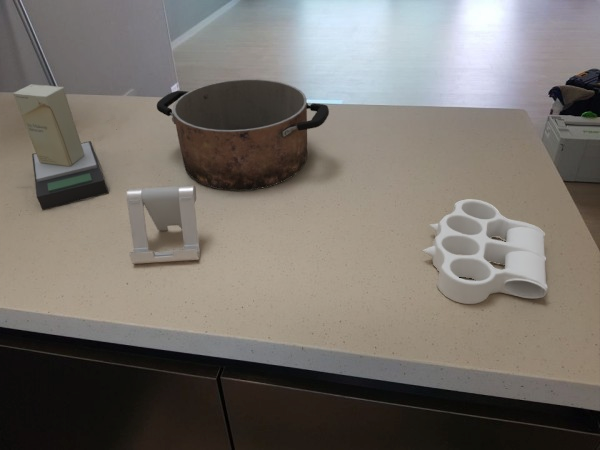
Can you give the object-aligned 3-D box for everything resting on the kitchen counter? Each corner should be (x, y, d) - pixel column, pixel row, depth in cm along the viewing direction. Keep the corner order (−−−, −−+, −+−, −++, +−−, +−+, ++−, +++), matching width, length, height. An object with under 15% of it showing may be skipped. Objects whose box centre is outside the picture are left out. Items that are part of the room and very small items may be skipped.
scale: (37, 166, 83) (30, 150, 81) (94, 152, 86) (89, 137, 84) (42, 210, 71) (35, 193, 69) (108, 192, 75) (103, 176, 73)
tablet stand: (133, 267, 60) (116, 215, 55) (145, 230, 66) (130, 181, 61) (198, 262, 60) (187, 211, 55) (204, 227, 67) (195, 178, 62)
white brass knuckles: (542, 324, 51) (410, 291, 55) (539, 231, 64) (433, 210, 68) (551, 303, 49) (414, 271, 53) (546, 211, 62) (436, 191, 66)
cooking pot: (340, 140, 88) (342, 86, 81) (308, 204, 71) (307, 141, 64) (200, 124, 95) (191, 73, 89) (140, 178, 78) (124, 120, 72)
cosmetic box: (39, 163, 77) (9, 93, 70) (56, 151, 80) (30, 83, 73) (71, 167, 76) (45, 96, 68) (87, 154, 79) (63, 85, 72)
